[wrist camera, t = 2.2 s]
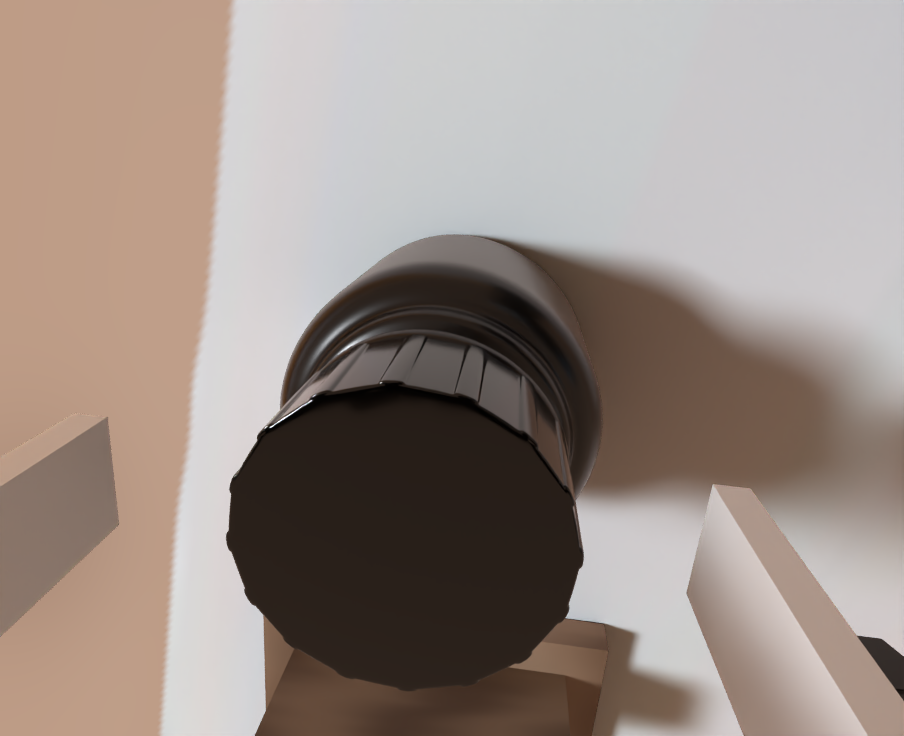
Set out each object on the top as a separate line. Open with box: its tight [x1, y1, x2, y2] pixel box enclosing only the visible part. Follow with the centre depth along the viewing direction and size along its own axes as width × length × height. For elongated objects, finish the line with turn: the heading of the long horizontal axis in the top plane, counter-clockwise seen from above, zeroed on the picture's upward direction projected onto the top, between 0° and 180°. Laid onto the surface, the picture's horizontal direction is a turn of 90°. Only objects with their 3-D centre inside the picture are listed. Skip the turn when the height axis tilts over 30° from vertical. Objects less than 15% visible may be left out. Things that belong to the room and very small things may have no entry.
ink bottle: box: [226, 235, 603, 691], centre depth 18 cm, size 10×9×12 cm
